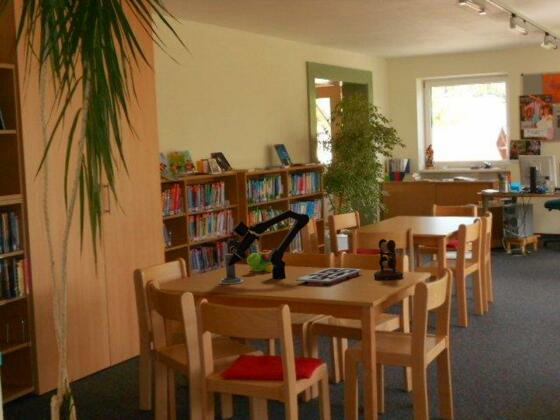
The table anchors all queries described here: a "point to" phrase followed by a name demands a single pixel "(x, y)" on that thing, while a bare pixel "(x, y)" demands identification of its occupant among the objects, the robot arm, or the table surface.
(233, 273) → the knob
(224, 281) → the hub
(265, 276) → the table surface
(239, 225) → the robot arm
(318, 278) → the maze game
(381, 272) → the dark figurine on base
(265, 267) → the turtle toy
